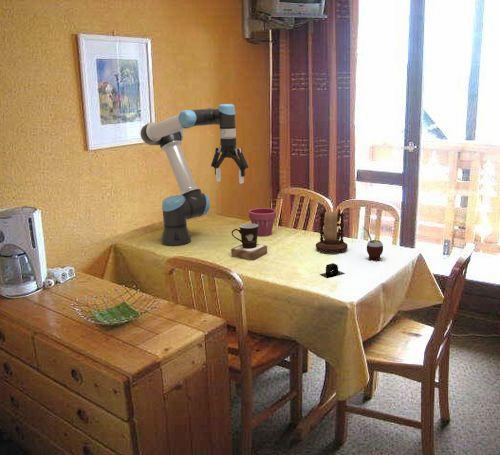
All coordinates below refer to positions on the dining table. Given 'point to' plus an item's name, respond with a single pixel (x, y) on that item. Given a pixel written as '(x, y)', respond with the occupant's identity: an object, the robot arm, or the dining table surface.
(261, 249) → the plinth
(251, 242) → the coffee mug
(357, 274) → the dining table surface
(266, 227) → the plant pot
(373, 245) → the mate gourd
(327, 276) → the black hat
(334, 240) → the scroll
